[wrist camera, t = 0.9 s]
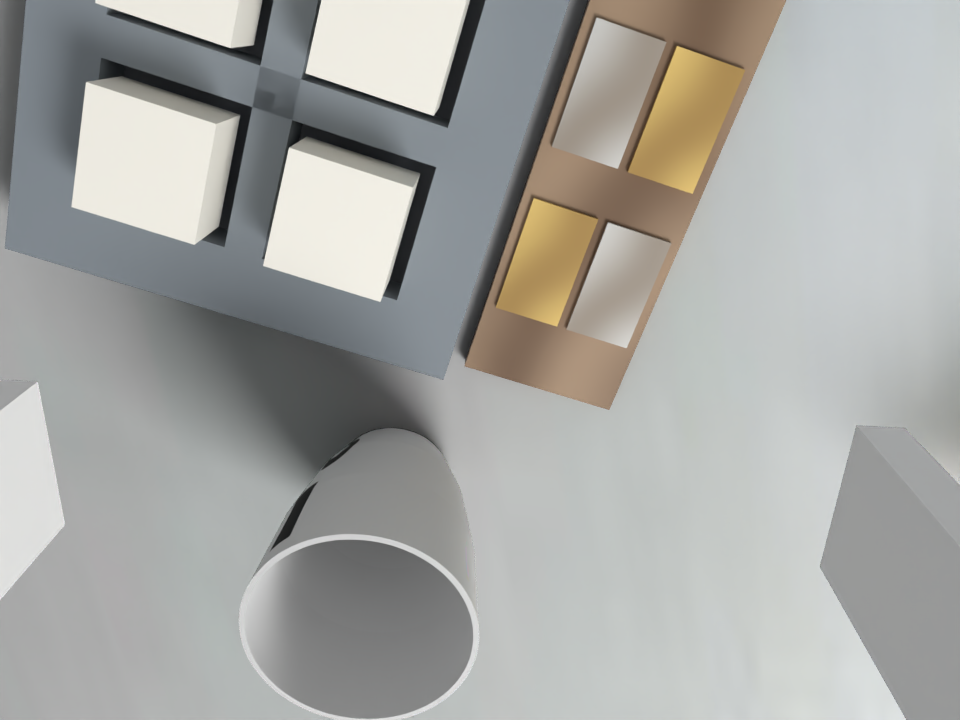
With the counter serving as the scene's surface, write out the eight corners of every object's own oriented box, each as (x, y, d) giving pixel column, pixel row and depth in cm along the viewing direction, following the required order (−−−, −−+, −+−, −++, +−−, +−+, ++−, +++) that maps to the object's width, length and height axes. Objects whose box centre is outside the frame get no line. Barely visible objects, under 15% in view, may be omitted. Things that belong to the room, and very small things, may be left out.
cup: (325, 375, 34) (261, 507, 25) (506, 424, 35) (508, 569, 26) (290, 527, 37) (221, 694, 28) (457, 568, 38) (443, 744, 29)
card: (465, 360, 34) (464, 367, 33) (614, -75, 27) (617, -77, 27) (607, 403, 34) (609, 411, 34) (785, -12, 28) (792, -13, 27)
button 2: (281, 246, 30) (263, 265, 28) (306, 136, 29) (289, 147, 26) (389, 279, 31) (380, 302, 28) (420, 173, 29) (412, 187, 27)
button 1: (322, 68, 28) (305, 72, 25) (352, -64, 26) (337, -71, 24) (439, 107, 28) (433, 115, 26) (476, -20, 26) (473, -23, 24)
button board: (40, 231, 32) (5, 248, 30) (91, -267, 26) (50, -294, 23) (447, 354, 34) (443, 379, 31) (592, -84, 27) (600, -92, 25)
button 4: (106, 191, 29) (71, 206, 27) (121, 76, 28) (85, 81, 25) (218, 226, 30) (194, 244, 27) (240, 114, 28) (216, 123, 26)
